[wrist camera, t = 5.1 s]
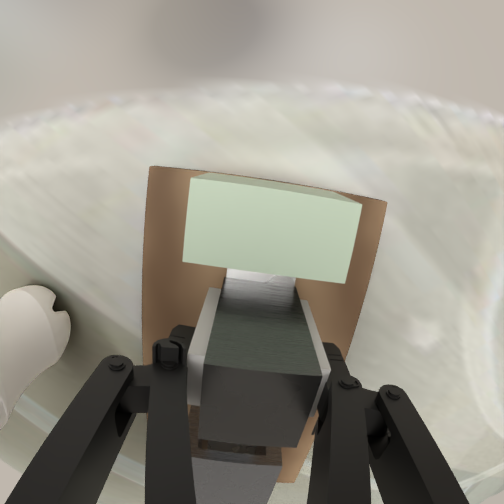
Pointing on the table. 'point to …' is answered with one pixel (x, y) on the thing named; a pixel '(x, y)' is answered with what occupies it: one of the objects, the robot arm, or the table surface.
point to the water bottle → (28, 341)
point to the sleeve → (232, 471)
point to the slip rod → (257, 366)
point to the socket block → (270, 227)
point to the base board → (204, 276)
